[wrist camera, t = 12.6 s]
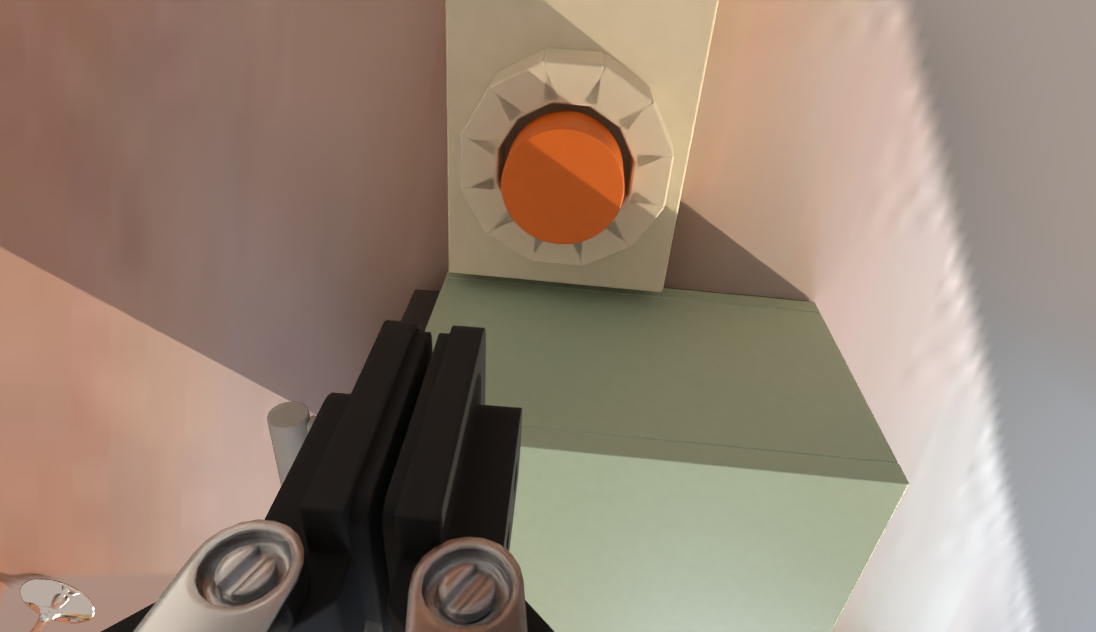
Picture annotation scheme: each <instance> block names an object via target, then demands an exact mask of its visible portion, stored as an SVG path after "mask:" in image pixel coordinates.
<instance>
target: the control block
mask: <svg viewBox="0 0 1096 632" xmlns="http://www.w3.org/2000/svg"><path fill="white" fill-rule="evenodd" d="M718 2H719V0H446V81H447V164H448V247H449V272H451V273H461V274H472V275H482V276H493V277H504V278H514V279H525V280H536V281H546V282H557V283H567V284H578V285H589V286H599V287H610V288H621V289H631V290H642V291H652V292H662V291H663V287H664V282H665V277H666V272H667V266H668V261H669V256H670V251H671V246H672V240H673V235H674V230H675V225H676V220H677V214H678V209H679V204H680V199H681V194H682V189H683V183H684V178H685V173H686V168H687V163H688V157H689V152H690V147H691V142H692V137H693V131H694V126H695V121H696V116H697V111H698V105H699V100H700V95H701V90H702V85H703V80H704V74H705V69H706V64H707V59H708V54H709V48H710V43H711V38H712V33H713V28H714V22H715V17H716V12H717V7H718ZM554 111H575V112H580V113H583V114H586V115H588V116H591V117H593V118H594V119H596V120H598V121H599V122H600V123H602V124H603V125H604V126H605V127H606V128H607V129H608V130H609V131H610V132H611V133H612V135H613V136H614V138H615V139H616V141H617V143H618V145H619V148H620V151H621V154H622V159H623V171H624V183H625V190H624V198H623V202H622V205H621V208H620V210H619V212H618V214H617V216H616V217H615V218H614V220H613V221H612V223H611V224H610V225H609V226H608V227H607V228H606V229H604V230H603V231H602V232H601V233H599V234H598V235H596V236H594V237H592V238H590V239H588V240H585V241H582V242H579V243H574V244H554V243H548V242H545V241H542V240H539V239H537V238H535V237H533V236H531V235H529V234H528V233H527V232H525V231H524V230H522V229H521V228H520V227H519V226H518V225H517V224H516V223H515V221H514V220H513V219H512V217H511V216H510V214H509V213H508V211H507V209H506V207H505V204H504V201H503V197H502V191H501V179H502V173H503V169H504V166H505V163H506V160H507V157H508V154H509V151H510V148H511V146H512V143H513V141H514V139H515V138H516V136H517V135H518V133H519V132H520V131H521V130H522V129H523V128H524V127H525V126H526V125H527V124H528V123H529V122H531V121H532V120H534V119H535V118H537V117H539V116H541V115H544V114H546V113H550V112H554Z"/></svg>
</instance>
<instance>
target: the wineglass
mask: <svg viewBox="0 0 1096 632" xmlns="http://www.w3.org/2000/svg"><path fill="white" fill-rule="evenodd" d="M20 595H21V597H22V599H23V601H24V602H25V603H26V604H27V605H28V606H29V607H30V608H31V609H32V610H34V611H35V612H37V613H39V618H38V621H37V623H36V624H35V626H34V627H33V628H32V630H31V631H30V632H40V631H41V630H42V629H43V628H44V627H45V626H46V625H47V624H48V623H49V622H51V621H52V620H55V621H59V622H64V623H74V624H75V623H83V622H87V621H89V620H90V619H91V618H92V617H93V616H94V614H95V608H94V605H93V603H92V601H91V600H90V599H89V598H88V597H87V596H86V595H85V594H83V593H82V592H81V591H79V590H77V589H76V588H74V587H72V586H70V585H67V584H65V583H62V582H59V581H55V580H50V579H32V580H29V581H27V582H25V583H24V584H23V585H22V586H21V588H20Z"/></svg>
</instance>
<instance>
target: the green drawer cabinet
mask: <svg viewBox="0 0 1096 632" xmlns="http://www.w3.org/2000/svg"><path fill="white" fill-rule="evenodd" d="M453 325H456V326H469V327H481V328H485V330H486V384H485V405H493V406H505V407H518V408H522V429H521V448H520V461H519V472H518V482H517V491H516V500H515V508H514V517H513V525H512V533H511V542H510V550H509V552H510V553H511V554H512V555H513V557H514V558H515V559H516V561H517V562H518V564H519V565H520V568H521V572H522V576H523V580H524V591H525V600H526V601H527V602H528V603H529V604H530V606H531V607H532V608H533V609H534V610H535V611H536V612H537V613H538V614H539V615H540V616H541V617H542V619H543V620H544V621H545V622H546V623H547V624H548V625H549V626H550V627H551V628H552V629H553V630H554V632H831V631H832V629H833V628H834V626H835V624H836V622H837V620H838V618H839V616H840V614H841V612H842V610H843V608H844V607H845V605H846V603H847V601H848V599H849V597H850V595H851V593H852V591H853V589H854V588H855V586H856V584H857V582H858V580H859V578H860V576H861V574H862V572H863V570H864V569H865V567H866V565H867V563H868V561H869V559H870V557H871V555H872V553H873V551H874V550H875V548H876V546H877V544H878V542H879V540H880V538H881V536H882V534H883V532H884V531H885V529H886V527H887V525H888V523H889V521H890V519H891V517H892V515H893V513H894V512H895V510H896V508H897V506H898V504H899V502H900V500H901V498H902V496H903V494H904V492H905V491H906V489H907V487H908V485H909V483H908V481H907V479H906V477H905V475H904V473H903V471H902V469H901V467H900V465H899V464H898V463H897V460H896V458H895V456H894V454H893V452H892V450H891V449H890V447H889V445H888V443H887V441H886V439H885V437H884V435H883V433H882V431H881V429H880V427H879V425H878V423H877V422H876V420H875V418H874V416H873V414H872V412H871V410H870V408H869V406H868V404H867V402H866V400H865V398H864V397H863V395H862V393H861V391H860V389H859V387H858V385H857V383H856V381H855V379H854V377H853V375H852V373H851V372H850V370H849V368H848V366H847V364H846V362H845V360H844V358H843V356H842V354H841V352H840V350H839V348H838V347H837V345H836V343H835V341H834V339H833V337H832V335H831V333H830V331H829V329H828V327H827V325H826V323H825V321H824V320H823V318H822V316H821V314H820V312H819V310H818V308H817V306H816V304H815V302H809V301H798V300H787V299H777V298H766V297H755V296H745V295H734V294H723V293H713V292H702V291H692V290H681V289H670V288H663V291H662V292H652V291H642V290H631V289H621V288H610V287H599V286H589V285H578V284H567V283H557V282H546V281H536V280H525V279H514V278H504V277H493V276H482V275H472V274H461V273H451V272H449V270H448V273H447V275H446V278H445V281H444V283H443V286H442V288H441V291H440V293H439V296H438V298H437V301H436V304H435V306H434V309H433V311H432V314H431V316H430V319H429V321H428V324H427V326H426V329H425V332H431V335H432V349H433V350H434V347H435V344H436V341H437V338H438V335H439V333H450V331H451V328H452V326H453Z"/></svg>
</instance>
